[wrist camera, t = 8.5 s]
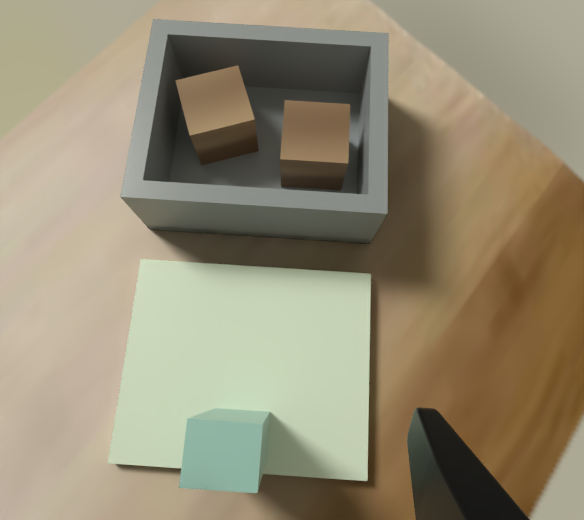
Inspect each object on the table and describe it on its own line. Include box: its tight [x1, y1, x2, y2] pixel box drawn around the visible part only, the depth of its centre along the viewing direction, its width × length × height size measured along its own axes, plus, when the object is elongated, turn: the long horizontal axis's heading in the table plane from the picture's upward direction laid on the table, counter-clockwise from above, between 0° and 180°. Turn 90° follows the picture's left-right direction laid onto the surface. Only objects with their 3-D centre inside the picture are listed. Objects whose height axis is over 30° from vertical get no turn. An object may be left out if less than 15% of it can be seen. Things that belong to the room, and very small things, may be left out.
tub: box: [121, 19, 389, 244], centre depth 21 cm, size 9×11×4 cm
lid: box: [108, 259, 371, 493], centre depth 18 cm, size 9×11×6 cm
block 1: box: [175, 66, 259, 165], centre depth 21 cm, size 3×3×3 cm
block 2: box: [280, 100, 350, 190], centre depth 21 cm, size 3×3×3 cm
